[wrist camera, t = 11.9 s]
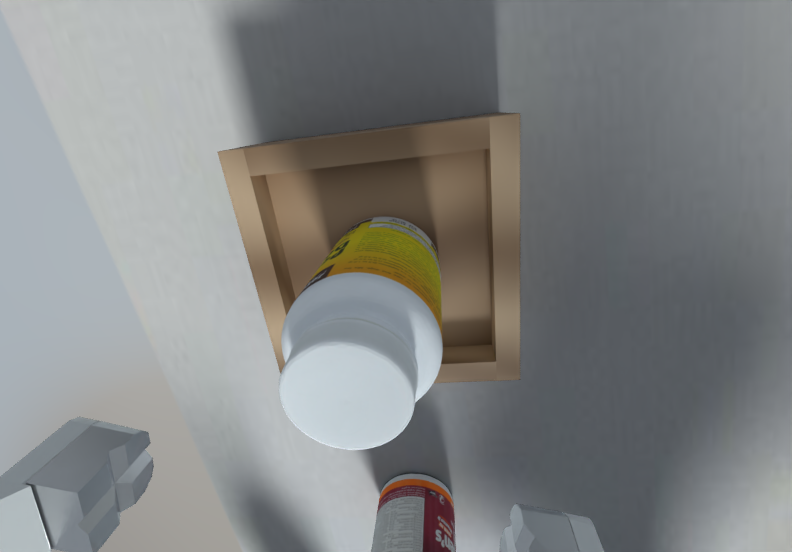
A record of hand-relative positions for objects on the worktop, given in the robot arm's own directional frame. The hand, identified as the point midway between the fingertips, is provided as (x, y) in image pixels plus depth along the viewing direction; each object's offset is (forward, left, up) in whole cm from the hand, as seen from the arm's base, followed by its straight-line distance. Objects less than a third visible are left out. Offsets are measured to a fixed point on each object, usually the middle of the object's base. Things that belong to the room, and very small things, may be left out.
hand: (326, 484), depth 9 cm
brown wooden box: (0, 0, -17) cm, 17 cm away
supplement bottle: (0, 0, -13) cm, 13 cm away
